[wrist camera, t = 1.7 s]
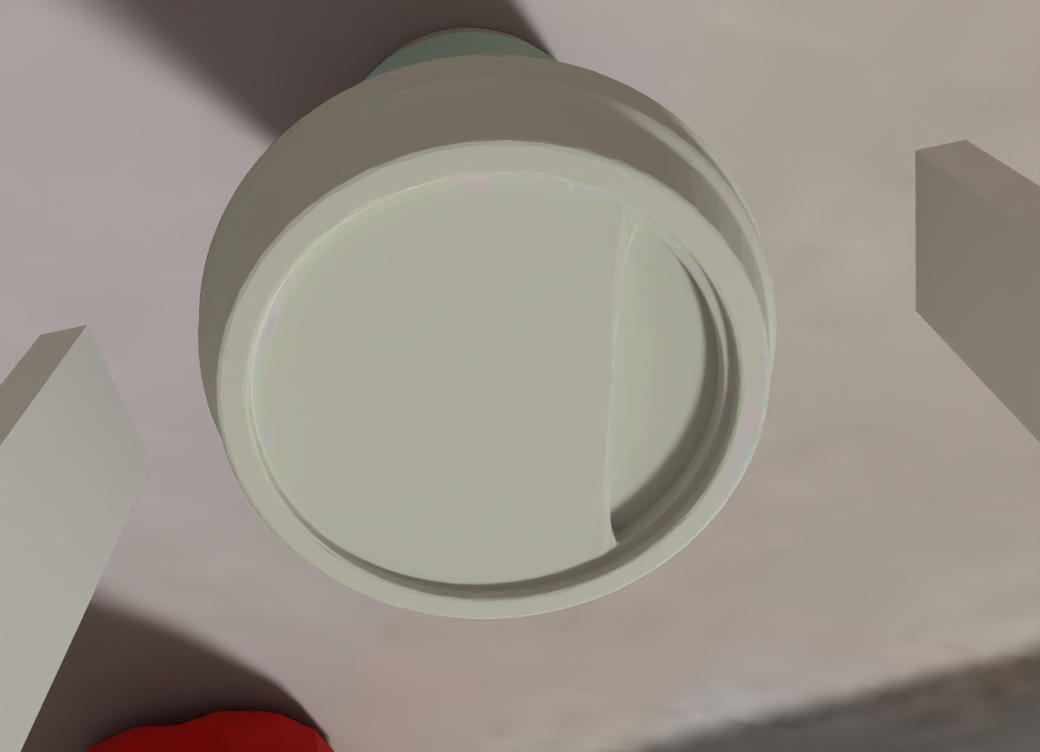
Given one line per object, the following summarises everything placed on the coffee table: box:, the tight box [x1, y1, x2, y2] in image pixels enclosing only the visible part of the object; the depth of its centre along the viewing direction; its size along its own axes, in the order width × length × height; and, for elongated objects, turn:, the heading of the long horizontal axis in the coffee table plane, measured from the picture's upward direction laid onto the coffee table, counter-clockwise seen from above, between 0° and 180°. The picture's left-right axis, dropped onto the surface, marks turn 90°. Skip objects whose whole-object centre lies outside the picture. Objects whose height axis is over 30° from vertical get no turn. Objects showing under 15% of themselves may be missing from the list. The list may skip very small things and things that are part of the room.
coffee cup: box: [198, 27, 777, 619], centre depth 19 cm, size 8×8×12 cm
